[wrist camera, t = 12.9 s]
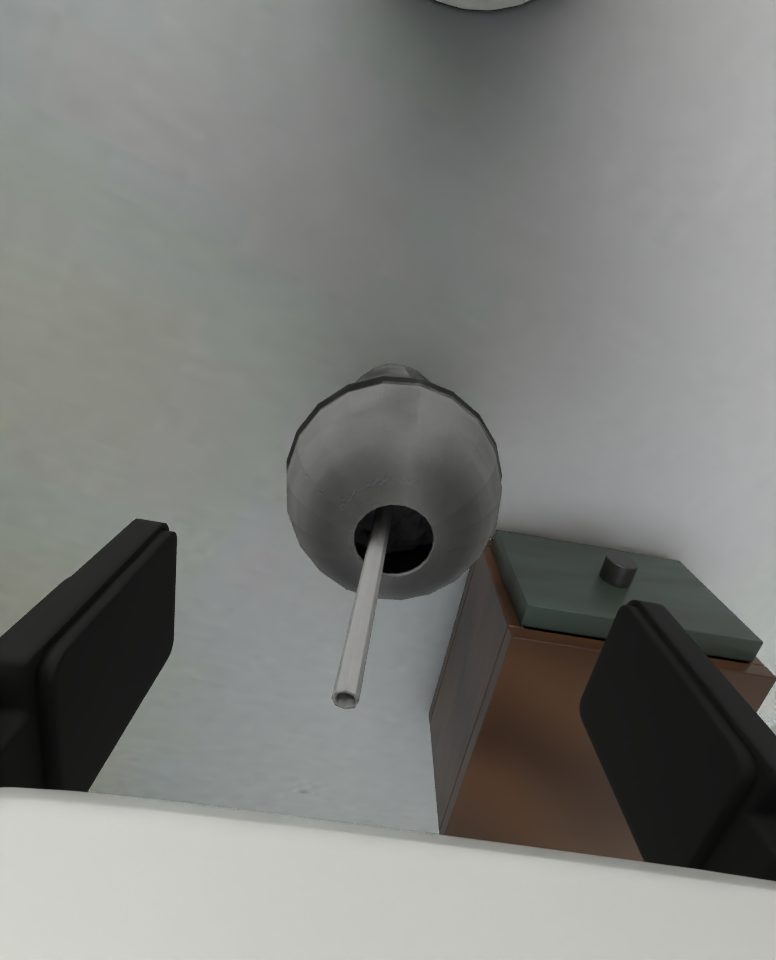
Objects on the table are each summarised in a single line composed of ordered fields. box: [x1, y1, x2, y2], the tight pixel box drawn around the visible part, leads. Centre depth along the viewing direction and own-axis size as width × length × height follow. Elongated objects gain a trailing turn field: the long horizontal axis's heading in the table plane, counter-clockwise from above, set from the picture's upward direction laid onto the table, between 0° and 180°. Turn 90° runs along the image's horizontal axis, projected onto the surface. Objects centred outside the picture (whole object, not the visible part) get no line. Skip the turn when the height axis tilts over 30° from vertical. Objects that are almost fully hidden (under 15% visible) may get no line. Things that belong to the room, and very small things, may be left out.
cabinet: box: [429, 541, 776, 862], centre depth 29 cm, size 15×13×9 cm
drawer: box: [491, 530, 763, 662], centre depth 28 cm, size 15×11×7 cm
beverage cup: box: [287, 364, 502, 709], centre depth 18 cm, size 7×7×20 cm
